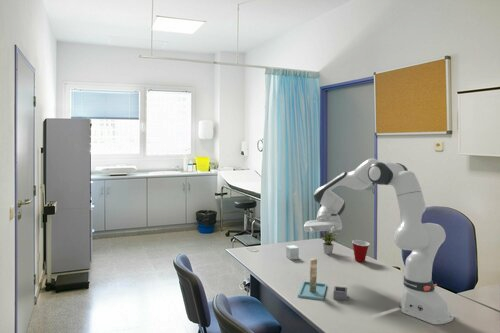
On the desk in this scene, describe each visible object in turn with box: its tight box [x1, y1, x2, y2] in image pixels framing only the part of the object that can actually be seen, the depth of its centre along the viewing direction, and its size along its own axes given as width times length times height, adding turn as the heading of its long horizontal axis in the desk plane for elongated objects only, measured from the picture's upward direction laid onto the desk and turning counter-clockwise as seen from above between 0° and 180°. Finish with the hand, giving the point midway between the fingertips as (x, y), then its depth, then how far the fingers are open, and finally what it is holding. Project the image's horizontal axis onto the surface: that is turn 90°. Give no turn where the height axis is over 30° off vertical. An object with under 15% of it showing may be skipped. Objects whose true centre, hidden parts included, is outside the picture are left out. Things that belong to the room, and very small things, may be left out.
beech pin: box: [309, 258, 318, 293], centre depth 191 cm, size 3×3×16 cm
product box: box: [285, 244, 300, 260], centre depth 245 cm, size 6×6×7 cm
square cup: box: [333, 285, 348, 302], centre depth 185 cm, size 6×6×5 cm
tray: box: [297, 280, 328, 301], centre depth 192 cm, size 18×12×2 cm, turn 164°
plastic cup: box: [351, 239, 370, 263], centre depth 240 cm, size 11×11×12 cm
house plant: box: [319, 231, 339, 255], centre depth 253 cm, size 14×14×16 cm
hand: (321, 232), depth 200 cm, fingers open, 8 cm apart
